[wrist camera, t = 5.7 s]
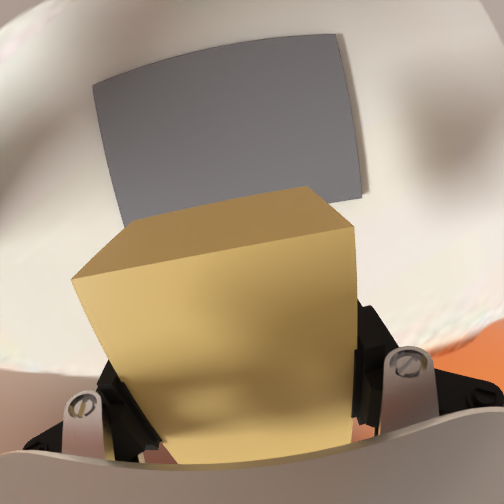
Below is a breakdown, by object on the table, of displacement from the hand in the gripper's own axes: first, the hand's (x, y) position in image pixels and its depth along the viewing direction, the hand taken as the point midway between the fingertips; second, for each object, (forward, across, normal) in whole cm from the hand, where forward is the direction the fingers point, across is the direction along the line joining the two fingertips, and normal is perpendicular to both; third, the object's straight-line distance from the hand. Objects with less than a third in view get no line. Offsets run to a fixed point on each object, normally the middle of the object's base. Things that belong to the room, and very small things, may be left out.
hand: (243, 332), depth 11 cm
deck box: (+1, 0, 0) cm, 1 cm away
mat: (+15, 0, -7) cm, 17 cm away
